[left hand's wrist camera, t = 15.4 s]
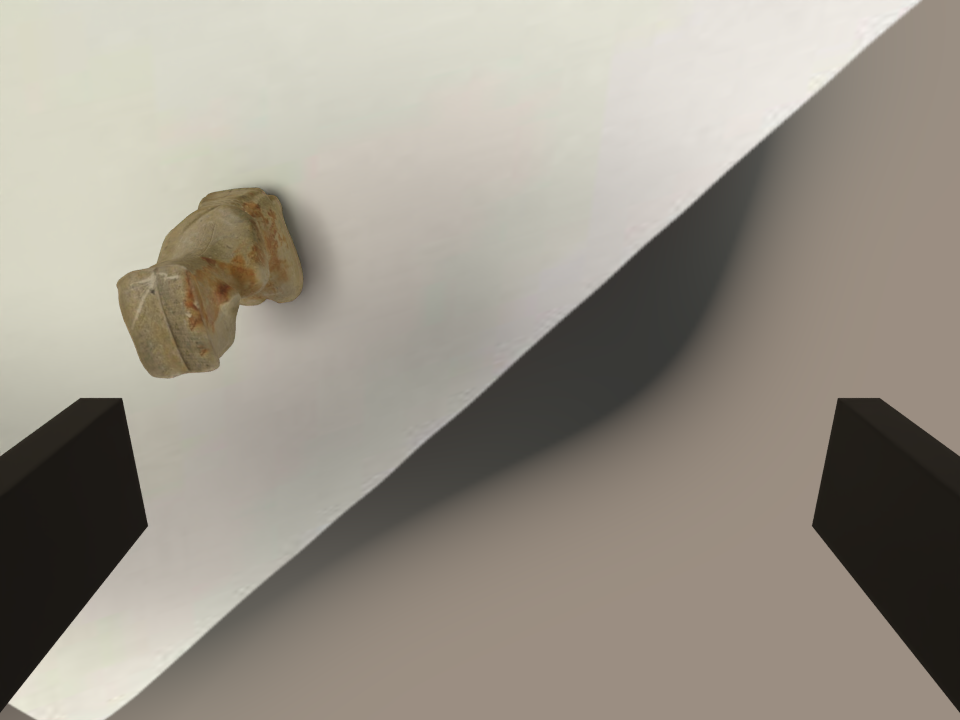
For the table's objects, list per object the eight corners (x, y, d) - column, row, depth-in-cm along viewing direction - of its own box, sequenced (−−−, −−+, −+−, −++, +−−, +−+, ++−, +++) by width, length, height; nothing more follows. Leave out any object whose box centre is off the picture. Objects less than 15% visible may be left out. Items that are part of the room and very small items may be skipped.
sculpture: (230, 301, 44) (111, 394, 30) (205, 187, 41) (62, 229, 27) (319, 294, 43) (243, 384, 29) (300, 179, 41) (206, 217, 27)
